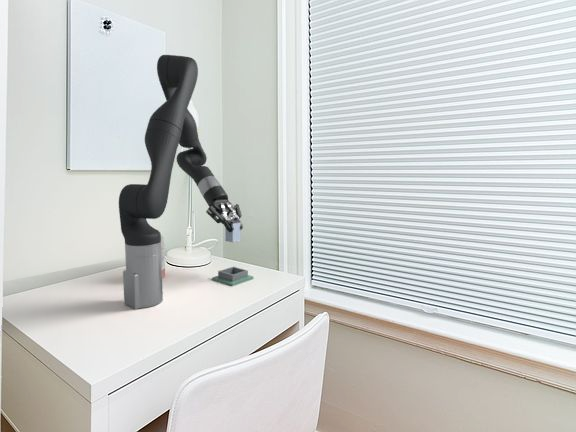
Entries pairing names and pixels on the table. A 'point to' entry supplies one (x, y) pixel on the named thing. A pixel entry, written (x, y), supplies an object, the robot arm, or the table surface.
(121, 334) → the table surface
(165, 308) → the table surface
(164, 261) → the ink cartridge box
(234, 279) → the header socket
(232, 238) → the block
